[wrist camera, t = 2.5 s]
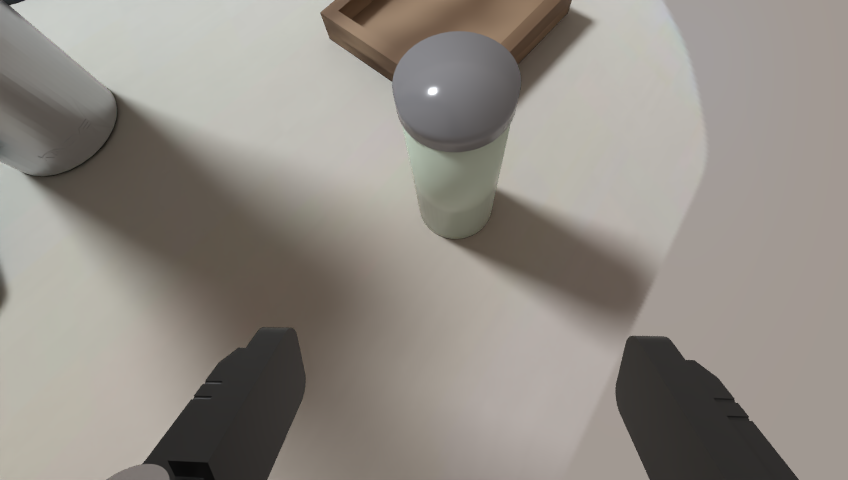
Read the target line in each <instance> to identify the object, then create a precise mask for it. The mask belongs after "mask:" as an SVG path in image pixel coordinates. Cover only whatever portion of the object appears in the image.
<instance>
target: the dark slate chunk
mask: <svg viewBox="0 0 848 480" xmlns="http://www.w3.org/2000/svg"><path fill="white" fill-rule="evenodd" d="M3 1H4V2H5V3H7V4H8V5H11V4H15V3H18V2H21V1H24V0H3Z"/></svg>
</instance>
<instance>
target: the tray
mask: <svg viewBox="0 0 848 480" xmlns="http://www.w3.org/2000/svg"><path fill="white" fill-rule="evenodd" d="M571 1H572V0H335V1H334V2H332V3H331V4H330V5H329V6H328V7H326V8H325V9H324V10H323V11H322V12H321V16H322V19H323V21H324V24H325V27H326V30H327V32H328V35H329V38H330V39H331V40H333V41H334V42H336V43H337V44H338V45H340V46H341V47H343V48H344V49H346V50H347V51H349V52H350V53H352V54H353V55H354V56H356V57H357V58H359V59H360V60H362V61H363V62H365V63H366V64H367V65H369V66H370V67H372V68H373V69H375V70H376V71H378V72H379V73H381V74H382V75H383V76H385V77H386V78H388V79H389V80H391V81H392V82H393V76H394V72H395V69H396V67H397V65H398V63H399V61H400V60H401V58H402V57H403V56H404V55H405V53H406V52H407V51H408V50H409V49H411V48H412V47H413V46H414V45H416V44H417V43H419V42H420V41H422V40H424V39H426V38H428V37H431V36H434V35H437V34H440V33H445V32H453V31H466V32H473V33H478V34H481V35H484V36H487V37H489V38H491V39H493V40H495V41H497V42H498V43H500V44H501V45H503V46H504V47H505V48H506V49H507V50H508V51H509V52H510V53H511V54H512V56H513V57H514V59H515V60H516V62H517V65H518V64H519V63H520V62H521V61H522V60H523V59H524V58H525V57H526V55H527V54H528V53H529V52H530V51H531V50H532V49H533V48H534V47H535V46H536V45H537V44H538V43H539V42H540V41H541V40H542V39H543V38H544V37H545V36H546V35H547V34H548V33H549V32H550V31H551V30H552V29H553V28H554V27H555V26H556V25H557V24H558V22H559V21H560V20H561V19H562V18H563V17H564V16H565V15H566V14H567V13H568V11H569V7H570V4H571Z"/></svg>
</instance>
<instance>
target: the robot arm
mask: <svg viewBox="0 0 848 480" xmlns="http://www.w3.org/2000/svg"><path fill="white" fill-rule="evenodd" d="M116 118H117V105H116V101H115V98H114V96H113V95H112V93H111V91H109V90H108V89H107V88H106V87H105V86H104V85H103V84H102V83H100V82H99V81H98V80H97V79H96V78H95V77H93V76H92V75H91V74H90V73H89V72H87V71H86V70H85V69H84V68H83V67H81V66H80V65H79V64H78V63H77V62H75V61H74V60H73V59H72V58H71V57H70V56H68V55H67V54H66V53H65V52H64V51H63V50H62V49H60V48H59V47H58V46H57V45H56V44H54V43H53V42H52V41H51V40H50V39H48V38H47V37H46V36H45V35H44V34H42V33H41V32H40V31H39V30H38V29H36V28H35V27H34V26H33V25H32V24H31V23H29V22H28V21H27V20H26V19H25V18H23V17H22V16H21V15H20V14H19V13H17V12H16V11H15V10H14V9H13V8H11V7H10V6H9V5H8V4H7V3H5V2H4V1H3V0H0V162H2V163H4V164H7V165H9V166H11V167H13V168H15V169H17V170H19V171H21V172H23V173H27V174H30V175H35V176H48V175H55V174H59V173H62V172H65V171H68V170H70V169H72V168H74V167H76V166H78V165H80V164H82V163H83V162H84V161H86V160H87V159H89V158H90V157H91V156H92V155H94V154H95V153H96V152H97V151H98V150H99V149H100V148H101V147H102V145H103V144H104V143H105V141H106V140H107V139H108V137H109V135H110V133H111V132H112V130H113V128H114V124H115V121H116ZM304 390H305V371H304V367H303V362H302V357H301V352H300V348H299V343H298V338H297V334H296V331H295V330H294V329H293V328H274V327H262V328H260V329H259V330H258V331H257V333H256V334H255V336H254V337H253V339H252V340H251V341H250V343H249V344H248V346H247V347H246V348H238V349H236V350H235V351H234V352H232V353H231V354H230V355H228V356H227V357H226V358H224V359H223V360H222V361H221V362H219V363H218V365H217V366H216V367H215V369H214V370H213V371H212V373H211V374H210V375H209V377H208V378H207V379H206V382H205V384H203V385H202V386H201V387H200V389H199V390H198V391H197V392H196V394H195V395H194V399H193V400H190V402H189V403H188V404H187V406H186V407H185V408H184V410H183V411H182V412H181V414H180V415H179V416H178V418H177V419H176V420H175V422H174V423H173V424H172V426H171V427H170V428H169V430H168V431H167V432H166V434H165V435H164V436H163V438H162V439H161V440H160V442H159V443H158V444H157V446H156V447H155V448H154V450H153V451H152V452H151V454H150V455H149V456H148V458H147V459H146V460H145V461H144V463H143V464H142V465H137V466H133V467H130V468H128V469H125V470H123V471H121V472H119V473H117V474H115V475H113V476H111V477H110V478H108V479H107V480H267V479H268V477H269V474H270V472H271V470H272V467H273V465H274V463H275V460H276V458H277V456H278V454H279V451H280V449H281V447H282V444H283V442H284V440H285V438H286V435H287V433H288V431H289V428H290V426H291V424H292V422H293V419H294V417H295V415H296V412H297V410H298V408H299V405H300V403H301V401H302V398H303V395H304ZM616 401H617V406H618V409H619V412H620V414H621V416H622V419H623V421H624V423H625V426H626V428H627V430H628V432H629V434H630V436H631V439H632V441H633V443H634V446H635V448H636V450H637V452H638V454H639V456H640V459H641V461H642V463H643V465H644V468H645V470H646V472H647V474H648V477H649V479H650V480H799V479H798V478H797V477H796V476H795V474H794V473H793V472H792V471H791V469H790V468H789V467H788V465H787V464H786V463H785V462H784V460H783V459H782V458H781V457H780V456H779V454H778V453H777V452H776V450H775V449H774V448H773V447H772V445H771V444H770V443H769V442H768V441H767V439H766V438H765V437H764V435H763V434H762V433H761V432H760V430H759V429H758V428H757V426H756V425H755V424H754V423H753V422H752V421H749V419H748V417H749V416H748V415H747V414H746V413H745V411H744V410H743V409H742V408H741V407H740V405H739V404H738V403H735V401H734V398H733V397H732V395H731V394H730V393H729V391H728V390H727V389H726V388H725V386H724V385H723V384H722V383H721V381H720V380H719V379H718V378H717V377H716V376H715V375H713V374H712V373H710V372H709V371H708V370H706V369H705V368H704V367H702V366H701V365H700V364H698V363H697V362H696V361H694V360H685V359H684V358H683V356H682V355H681V353H680V352H679V351H678V349H677V348H676V347H675V345H674V344H673V343H672V341H671V340H670V339H669V338H667V337H662V336H630V337H629V338H628V339H627V341H626V345H625V349H624V353H623V357H622V361H621V366H620V370H619V374H618V378H617V383H616Z"/></svg>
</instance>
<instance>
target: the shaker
mask: <svg viewBox="0 0 848 480" xmlns="http://www.w3.org/2000/svg"><path fill="white" fill-rule="evenodd" d="M392 88H393V95H394V100H395V105H396V109H397V114H398V117H399V120H400V122H401V124H402V127H403V131H404V136H405V141H406V146H407V151H408V156H409V160H410V165H411V170H412V175H413V180H414V184H415V189H416V194H417V199H418V204H419V209H420V213H421V217H422V219H423V221H424V223H425V224H426V225H427V227H428V228H429V229H430V230H431V231H433V232H434V233H436V234H437V235H439V236H442V237H445V238H449V239H461V238H466V237H469V236H472V235H474V234H475V233H477V232H478V231H480V230H481V229H482V228H483V227H484V226H485V224H486V223H487V221H488V220H489V217H490V215H491V211H492V206H493V201H494V197H495V192H496V188H497V183H498V178H499V174H500V169H501V164H502V160H503V155H504V151H505V146H506V141H507V137H508V132H509V127H510V123H511V121H512V119H513V117H514V115H515V111H516V106H517V102H518V98H519V93H520V89H521V74H520V70H519V67H518V65H517V62H516V60H515V59H514V57H513V56H512V54H511V53H510V52H509V51H508V50H507V49H506V48H505V47H504V46H503V45H501V44H500V43H498V42H497V41H495V40H493V39H491V38H489V37H487V36H484V35H481V34H478V33H473V32H466V31H453V32H445V33H440V34H437V35H434V36H431V37H428V38H426V39H424V40H422V41H420V42H419V43H417V44H416V45H414V46H413V47H412V48H411V49H409V50H408V51H407V52H406V53H405V55H404V56H403V57H402V58H401V60H400V61H399V63H398V65H397V67H396V69H395V72H394V76H393V83H392Z"/></svg>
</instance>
